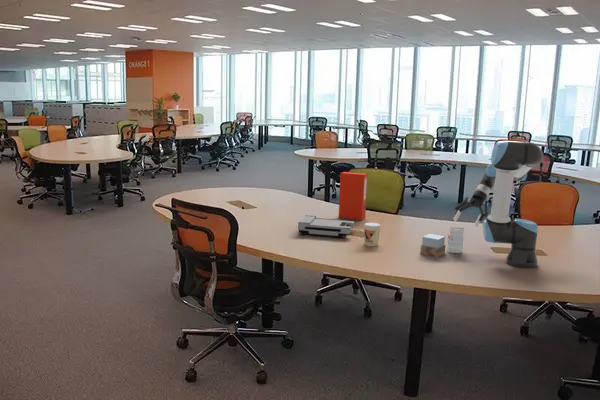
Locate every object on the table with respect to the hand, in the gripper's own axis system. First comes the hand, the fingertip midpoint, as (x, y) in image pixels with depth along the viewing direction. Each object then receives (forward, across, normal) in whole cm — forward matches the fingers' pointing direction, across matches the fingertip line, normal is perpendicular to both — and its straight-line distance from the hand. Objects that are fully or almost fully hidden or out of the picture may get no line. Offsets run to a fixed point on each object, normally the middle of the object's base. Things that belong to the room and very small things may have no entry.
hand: (465, 222), depth 295 cm
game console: (+38, +72, +16) cm, 84 cm away
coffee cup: (+36, +38, +14) cm, 54 cm away
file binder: (+7, +92, -15) cm, 93 cm away
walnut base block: (+27, +5, +4) cm, 28 cm away
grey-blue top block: (+23, +5, +8) cm, 25 cm away
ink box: (+18, 0, -4) cm, 18 cm away
